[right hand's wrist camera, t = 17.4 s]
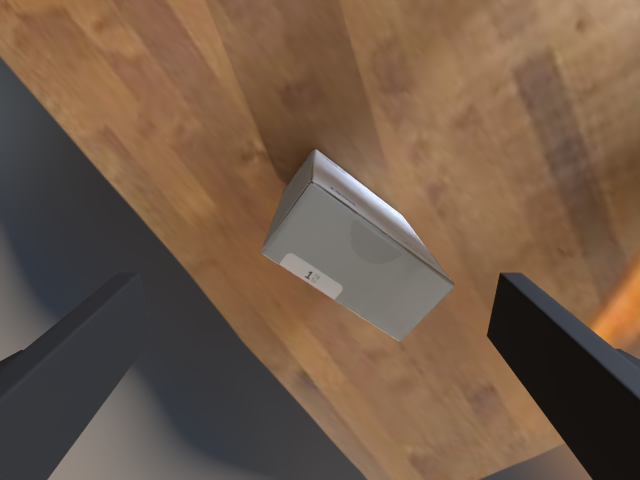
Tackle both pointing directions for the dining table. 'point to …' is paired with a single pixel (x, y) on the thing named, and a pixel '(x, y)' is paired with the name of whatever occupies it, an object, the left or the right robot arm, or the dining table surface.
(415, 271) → the hard drive box
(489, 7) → the dining table surface
